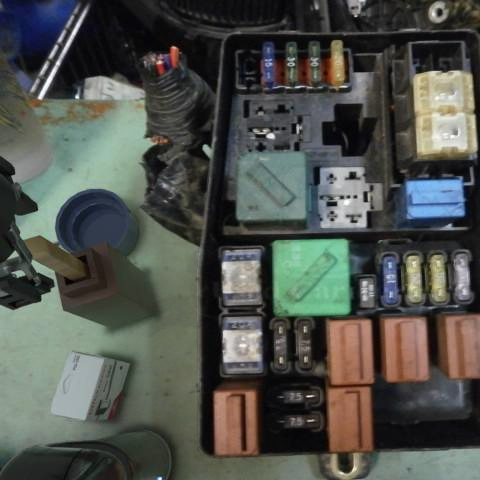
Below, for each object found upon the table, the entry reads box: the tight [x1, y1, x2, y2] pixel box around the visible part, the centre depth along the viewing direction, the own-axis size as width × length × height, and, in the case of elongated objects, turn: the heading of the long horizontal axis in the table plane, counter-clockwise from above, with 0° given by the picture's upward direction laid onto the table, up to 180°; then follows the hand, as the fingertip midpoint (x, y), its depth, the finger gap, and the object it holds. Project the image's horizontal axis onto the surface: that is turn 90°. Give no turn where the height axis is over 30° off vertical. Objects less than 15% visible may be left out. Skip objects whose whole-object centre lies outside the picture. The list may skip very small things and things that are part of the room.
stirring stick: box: [22, 234, 91, 283], centre depth 61 cm, size 2×2×14 cm
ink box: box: [49, 349, 131, 422], centre depth 76 cm, size 9×5×12 cm, turn 168°
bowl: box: [54, 188, 140, 258], centre depth 85 cm, size 11×11×6 cm
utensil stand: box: [54, 242, 156, 329], centre depth 75 cm, size 7×7×21 cm
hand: (36, 248), depth 55 cm, fingers open, 8 cm apart
